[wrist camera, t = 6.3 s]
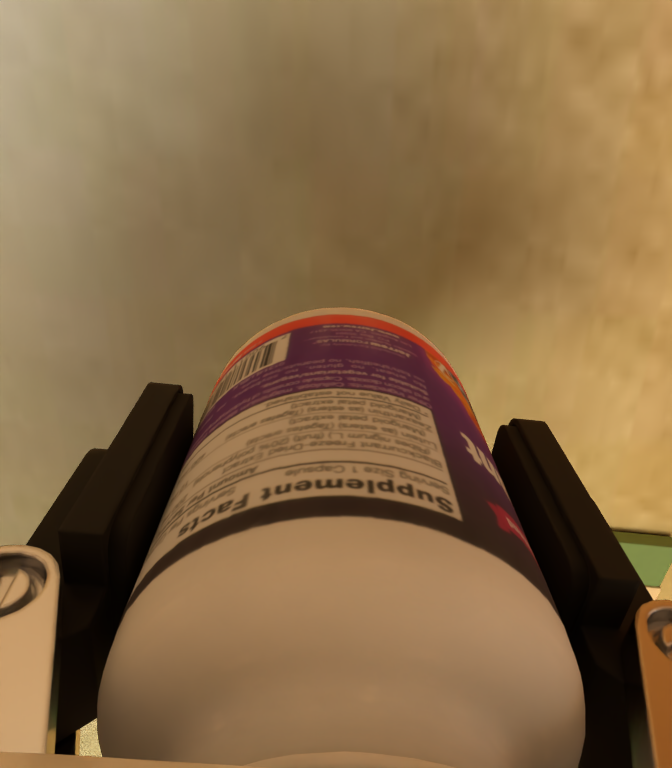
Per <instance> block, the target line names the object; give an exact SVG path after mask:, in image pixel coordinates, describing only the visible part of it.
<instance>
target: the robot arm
mask: <svg viewBox="0 0 672 768" xmlns="http://www.w3.org/2000/svg"><path fill="white" fill-rule="evenodd" d="M192 441H193V395H192V394H184V393H183V388H182V386H181V385H173V384H163V383H153V382H150V383H149V384H148V385H147V386H146V388H145V390H144V391H143V393H142V395H141V396H140V398H139V399H138V401H137V403H136V404H135V406H134V408H133V409H132V411H131V412H130V414H129V416H128V417H127V419H126V421H125V422H124V424H123V425H122V427H121V429H120V430H119V432H118V434H117V435H116V437H115V438H114V440H113V442H112V443H111V445H110V447H109V448H108V450H106V449H96V448H94V449H91V450H90V451H89V452H88V453H87V454H86V455H85V457H84V458H83V460H82V461H81V463H80V464H79V466H78V467H77V469H76V470H75V472H74V473H73V475H72V476H71V478H70V479H69V481H68V482H67V484H66V485H65V487H64V488H63V490H62V491H61V493H60V494H59V496H58V497H57V499H56V500H55V502H54V503H53V505H52V506H51V508H50V510H49V511H48V513H47V514H46V516H45V517H44V519H43V520H42V522H41V523H40V525H39V526H38V528H37V529H36V531H35V532H34V534H33V535H32V537H31V538H30V540H29V541H28V543H27V544H26V545H4V546H0V768H266V767H250V766H235V765H219V764H203V763H187V762H172V761H156V760H140V759H124V758H109V757H93V756H79V752H80V728H82V727H83V726H85V725H86V724H88V723H90V722H91V721H93V720H94V719H96V718H97V703H98V692H99V688H100V684H101V679H102V675H103V671H104V668H105V665H106V662H107V658H108V655H109V652H110V649H111V647H112V644H113V642H114V639H115V636H116V632H117V630H118V627H119V623H120V621H121V618H122V615H123V612H124V609H125V607H126V605H127V603H128V600H129V598H130V596H131V593H132V591H133V589H134V586H135V584H136V581H137V579H138V576H139V574H140V572H141V569H142V566H143V564H144V561H145V558H146V556H147V553H148V551H149V548H150V546H151V543H152V541H153V538H154V536H155V533H156V531H157V528H158V526H159V523H160V520H161V518H162V516H163V513H164V511H165V508H166V506H167V503H168V501H169V498H170V496H171V493H172V491H173V488H174V486H175V483H176V481H177V478H178V476H179V473H180V471H181V468H182V465H183V463H184V460H185V458H186V456H187V453H188V451H189V448H190V446H191V443H192ZM491 455H492V457H493V460H494V462H495V464H496V467H497V469H498V471H499V474H500V476H501V479H502V481H503V484H504V486H505V488H506V491H507V493H508V496H509V498H510V500H511V503H512V505H513V507H514V510H515V512H516V514H517V516H518V519H519V521H520V523H521V526H522V528H523V531H524V533H525V536H526V538H527V540H528V543H529V545H530V548H531V550H532V552H533V554H534V556H535V559H536V561H537V563H538V565H539V567H540V570H541V572H542V574H543V576H544V579H545V581H546V583H547V586H548V588H549V591H550V593H551V595H552V598H553V600H554V603H555V605H556V608H557V610H558V613H559V615H560V618H561V621H562V623H563V625H564V627H565V630H566V633H567V636H568V639H569V642H570V645H571V647H572V650H573V652H574V655H575V658H576V661H577V664H578V668H579V671H580V674H581V679H582V684H583V692H584V700H585V739H584V744H583V749H582V754H581V758H580V761H579V765H578V768H672V601H670V600H653V598H652V597H651V595H650V593H649V592H648V590H647V588H646V587H645V585H644V583H643V582H642V580H641V578H640V577H639V575H638V573H637V572H636V570H635V568H634V567H633V565H632V563H631V562H630V560H629V558H628V557H627V555H626V553H625V552H624V550H623V548H622V547H621V545H620V543H619V542H618V540H617V538H616V537H615V535H614V534H613V532H612V530H611V529H610V527H609V525H608V524H607V522H606V520H605V519H604V517H603V515H602V514H601V512H600V510H599V509H598V507H597V505H596V504H595V502H594V501H593V500H592V498H591V497H590V495H589V494H588V492H587V490H586V489H585V487H584V485H583V484H582V482H581V480H580V479H579V477H578V475H577V474H576V472H575V470H574V469H573V467H572V465H571V464H570V462H569V460H568V459H567V457H566V455H565V454H564V452H563V450H562V449H561V447H560V445H559V444H558V442H557V440H556V439H555V437H554V435H553V434H552V432H551V430H550V429H549V427H548V425H547V424H546V423H545V422H543V421H535V420H525V419H515V418H513V419H512V420H511V421H510V423H509V425H501V426H500V428H499V429H498V432H497V436H496V439H495V443H494V447H493V450H492V454H491Z"/></svg>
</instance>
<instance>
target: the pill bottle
mask: <svg viewBox="0 0 672 768" xmlns="http://www.w3.org/2000/svg"><path fill="white" fill-rule="evenodd" d="M97 731H98V740H99V745H100V749H101V753H102V757H109V758H124V759H140V760H156V761H172V762H187V763H203V764H219V765H235V766H250V767H266V768H578V765H579V761H580V758H581V754H582V749H583V744H584V739H585V700H584V692H583V684H582V679H581V674H580V671H579V668H578V664H577V661H576V658H575V655H574V652H573V650H572V647H571V645H570V642H569V639H568V636H567V633H566V630H565V627H564V625H563V623H562V621H561V618H560V615H559V613H558V610H557V608H556V605H555V603H554V600H553V598H552V595H551V593H550V591H549V588H548V586H547V583H546V581H545V579H544V576H543V574H542V572H541V570H540V567H539V565H538V563H537V561H536V559H535V556H534V554H533V552H532V550H531V548H530V545H529V543H528V540H527V538H526V536H525V533H524V531H523V528H522V526H521V523H520V521H519V519H518V516H517V514H516V512H515V510H514V507H513V505H512V503H511V500H510V498H509V496H508V493H507V491H506V488H505V486H504V484H503V481H502V479H501V476H500V474H499V471H498V469H497V467H496V464H495V462H494V460H493V457H492V455H491V453H490V450H489V448H488V445H487V443H486V441H485V438H484V436H483V434H482V431H481V429H480V427H479V424H478V422H477V419H476V416H475V414H474V412H473V409H472V407H471V404H470V402H469V399H468V397H467V394H466V392H465V390H464V388H463V386H462V384H461V382H460V380H459V378H458V376H457V374H456V372H455V371H454V369H453V367H452V366H451V364H450V363H449V361H448V360H447V359H446V357H445V356H444V355H443V353H442V352H441V351H440V350H439V349H438V348H437V347H436V346H435V345H434V344H433V343H432V342H431V341H430V340H428V339H427V338H426V337H425V336H424V335H422V334H421V333H420V332H418V331H417V330H415V329H414V328H412V327H410V326H409V325H407V324H406V323H404V322H401V321H399V320H397V319H395V318H392V317H390V316H387V315H384V314H381V313H377V312H374V311H369V310H364V309H358V308H346V307H333V308H320V309H314V310H309V311H304V312H301V313H298V314H294V315H291V316H289V317H286V318H284V319H282V320H280V321H277V322H275V323H273V324H271V325H269V326H268V327H266V328H264V329H263V330H261V331H260V332H258V333H257V334H256V335H254V336H253V337H252V338H250V339H249V340H248V341H247V342H246V343H245V344H244V345H243V346H242V347H240V349H239V350H238V351H237V352H236V353H235V354H234V355H233V357H232V358H231V359H230V361H229V362H228V363H227V365H226V367H225V368H224V370H223V372H222V374H221V376H220V377H219V380H218V381H217V383H216V385H215V387H214V389H213V391H212V394H211V396H210V398H209V401H208V404H207V406H206V408H205V410H204V413H203V415H202V417H201V420H200V422H199V425H198V428H197V430H196V433H195V435H194V438H193V441H192V443H191V446H190V448H189V451H188V453H187V456H186V458H185V460H184V463H183V465H182V468H181V471H180V473H179V476H178V478H177V481H176V483H175V486H174V488H173V491H172V493H171V496H170V498H169V501H168V503H167V506H166V508H165V511H164V513H163V516H162V518H161V520H160V523H159V526H158V528H157V531H156V533H155V536H154V538H153V541H152V543H151V546H150V548H149V551H148V553H147V556H146V558H145V561H144V564H143V566H142V569H141V572H140V574H139V576H138V579H137V581H136V584H135V586H134V589H133V591H132V593H131V596H130V598H129V600H128V603H127V605H126V607H125V609H124V612H123V615H122V618H121V621H120V623H119V627H118V630H117V632H116V636H115V639H114V642H113V644H112V647H111V649H110V652H109V655H108V658H107V662H106V665H105V668H104V671H103V675H102V679H101V684H100V688H99V692H98V703H97Z"/></svg>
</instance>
